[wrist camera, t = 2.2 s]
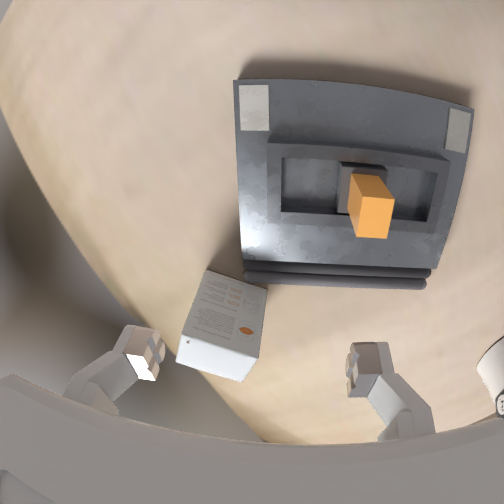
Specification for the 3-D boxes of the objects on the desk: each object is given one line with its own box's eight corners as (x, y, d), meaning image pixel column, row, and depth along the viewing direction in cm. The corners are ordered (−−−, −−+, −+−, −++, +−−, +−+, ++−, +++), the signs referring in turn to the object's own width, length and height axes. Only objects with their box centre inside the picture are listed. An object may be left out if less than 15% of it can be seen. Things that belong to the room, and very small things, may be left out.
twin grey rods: (430, 264, 31) (433, 271, 30) (422, 284, 33) (425, 292, 32) (243, 254, 34) (241, 261, 33) (244, 276, 36) (242, 284, 35)
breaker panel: (464, 106, 21) (483, 112, 18) (430, 258, 31) (440, 277, 28) (237, 79, 23) (229, 80, 20) (244, 248, 33) (239, 268, 30)
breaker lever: (383, 165, 24) (406, 194, 18) (376, 207, 26) (394, 245, 21) (339, 161, 24) (352, 188, 19) (335, 204, 27) (344, 241, 21)
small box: (197, 298, 39) (172, 362, 30) (206, 267, 36) (179, 333, 27) (254, 317, 40) (242, 384, 31) (269, 288, 36) (259, 359, 28)
